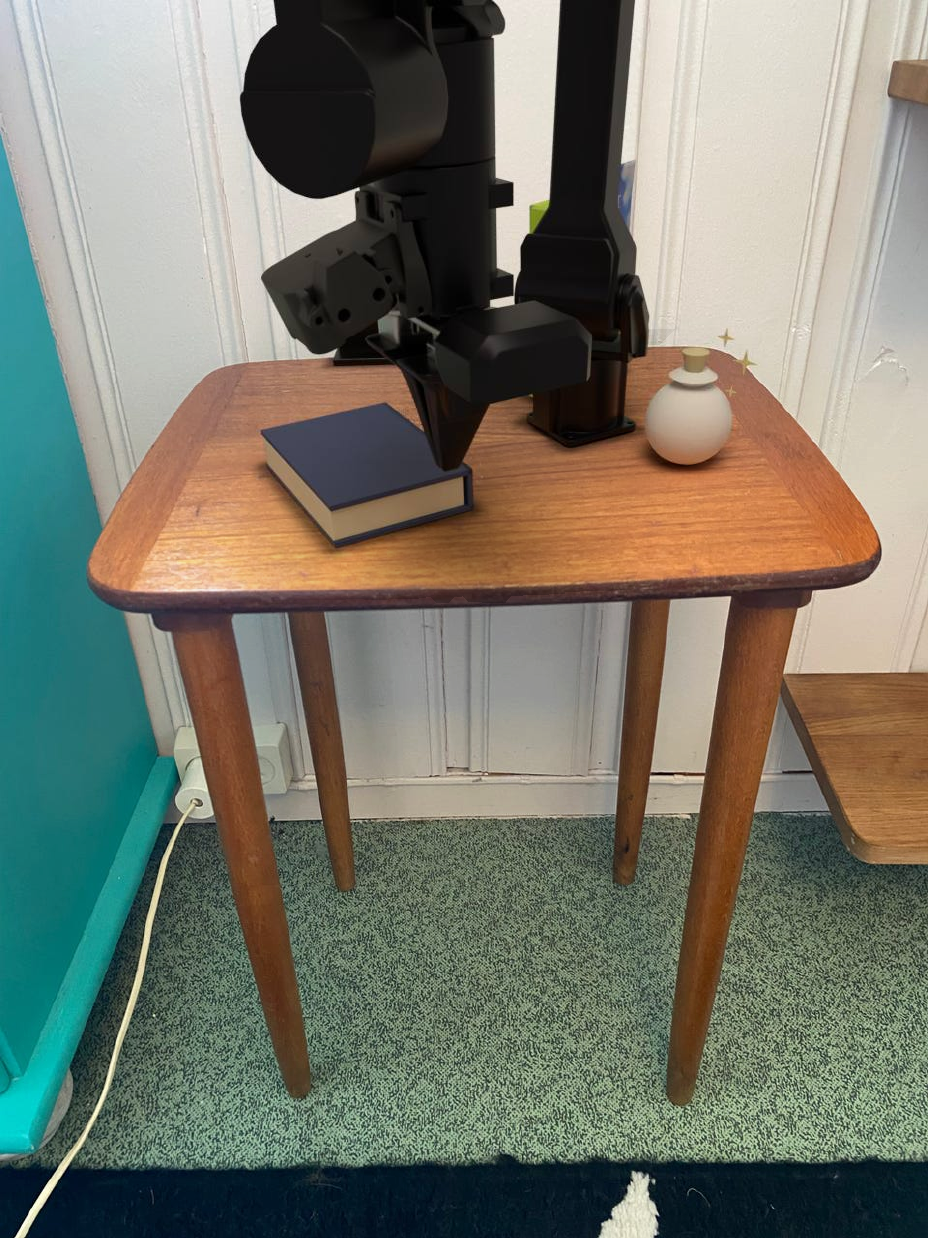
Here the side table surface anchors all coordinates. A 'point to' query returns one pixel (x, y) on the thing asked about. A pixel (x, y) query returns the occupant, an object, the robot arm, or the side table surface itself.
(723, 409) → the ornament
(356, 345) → the bookend
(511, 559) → the side table surface
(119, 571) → the side table surface
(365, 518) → the book
